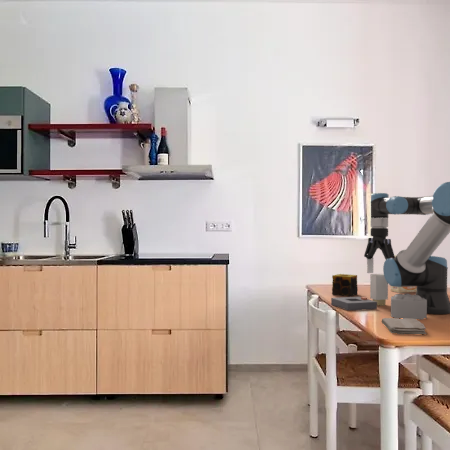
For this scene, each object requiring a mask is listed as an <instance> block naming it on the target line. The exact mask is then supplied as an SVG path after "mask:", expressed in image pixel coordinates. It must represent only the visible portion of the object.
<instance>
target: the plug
mask: <svg viewBox="0 0 450 450" xmlns="http://www.w3.org/2000/svg"><path fill="white" fill-rule="evenodd" d="M369 274H370V279H369V281H370V283H369V284H370V285H369V286H370V287H369V288H370V289H369V291H370V292H369V294H370V295H369V297H370V300H371V299H372V301H375V302H377V305H378V306H379V305H380V306H386V305H387V304H386V302H387V301H386V300H389V284H388V283H387V281H386V279H385V277H384V273H369ZM378 306H377V307H378Z"/></svg>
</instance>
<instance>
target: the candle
mask: <svg viewBox="0 0 450 450" xmlns="http://www.w3.org/2000/svg"><path fill="white" fill-rule="evenodd" d="M331 278H332V287H331V294H332V295H334V296H341V297H354V296H356V295H358V291H359V289H358V288H359V287H358V275H357V274H344V273H340V274H339V273H337V274H334V275H333V274H332V277H331Z"/></svg>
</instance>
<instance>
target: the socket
mask: <svg viewBox="0 0 450 450" xmlns="http://www.w3.org/2000/svg"><path fill="white" fill-rule="evenodd" d="M330 301H331V302H330V303H331V305H332V306H335V307H336V308H340V309H343V310H346V311H360V310H361V311H362V309H366V310H377V309H378V306H377V302H375V301H373V299H372V300H371V299H368V297H366V296H362V297H361V296H341V297H340V296H339V297H331V299H330Z"/></svg>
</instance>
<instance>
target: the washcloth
mask: <svg viewBox="0 0 450 450" xmlns="http://www.w3.org/2000/svg"><path fill="white" fill-rule="evenodd" d="M381 323H382V324H384V325H385V326H386V327H387V328H388V329H389V330H388V329H387V328H386V327H385V326H384V325H383V326H384V327H385V328H386V329H387V330H388V331H389V333H390V332H391V333H397V334H396V335H404V334H426V335H427V332H426V331H425V330H427V328H426V326H425V324H424V323H422V322H421V321H419V320H416V319H413V318H404V319H399V318H393V317H384V318H383V317H382V319H381ZM391 333H390V334H391Z"/></svg>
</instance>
